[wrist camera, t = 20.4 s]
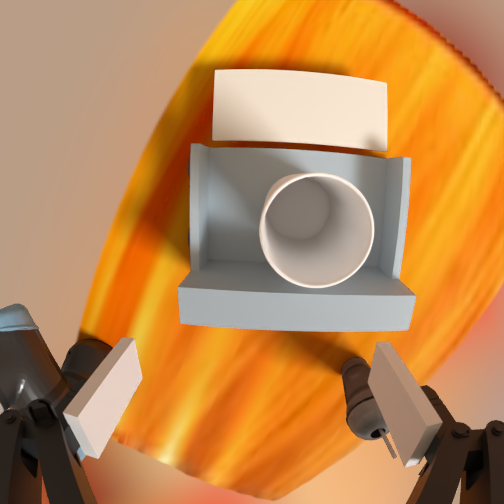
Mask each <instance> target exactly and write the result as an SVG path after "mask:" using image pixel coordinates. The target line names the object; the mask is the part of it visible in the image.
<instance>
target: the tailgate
mask: <svg viewBox="0 0 504 504" xmlns="http://www.w3.org/2000/svg"><path fill="white" fill-rule="evenodd" d="M212 140H213V141H267V142H289V143H305V144H319V145H330V146H341V147H350V148H359V149H367V150H375V151H382V152H387V83H384V82H379V81H374V80H368V79H362V78H356V77H350V76H342V75H335V74H326V73H316V72H305V71H291V70H268V69H230V70H215V80H214V103H213V132H212Z"/></svg>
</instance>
